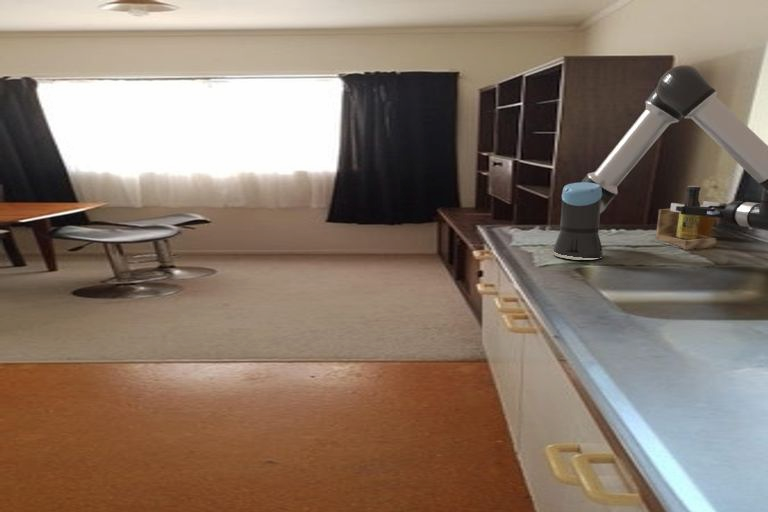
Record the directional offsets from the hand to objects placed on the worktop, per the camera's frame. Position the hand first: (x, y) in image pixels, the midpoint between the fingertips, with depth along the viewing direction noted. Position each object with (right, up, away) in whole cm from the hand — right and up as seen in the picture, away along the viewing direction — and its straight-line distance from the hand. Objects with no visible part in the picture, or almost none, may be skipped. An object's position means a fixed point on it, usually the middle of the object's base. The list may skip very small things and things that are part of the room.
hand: (687, 206), depth 173 cm
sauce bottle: (0, -13, +2) cm, 13 cm away
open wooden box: (0, -14, +2) cm, 14 cm away
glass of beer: (+14, -11, +15) cm, 23 cm away
